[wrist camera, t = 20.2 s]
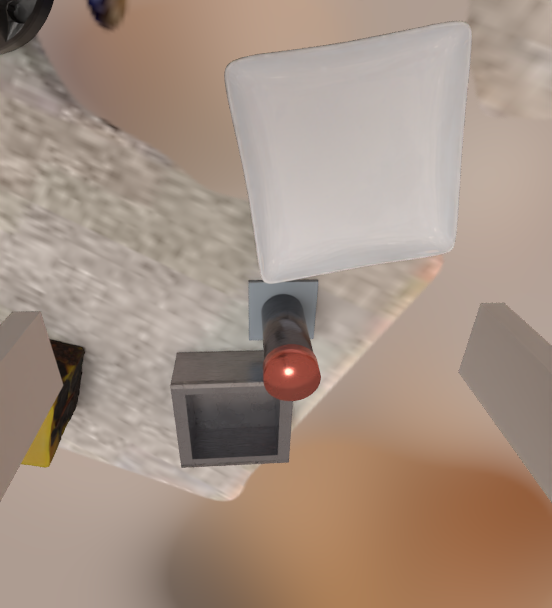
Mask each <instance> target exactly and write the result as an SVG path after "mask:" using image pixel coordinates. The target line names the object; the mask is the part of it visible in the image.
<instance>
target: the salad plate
mask: <svg viewBox="0 0 552 608" xmlns="http://www.w3.org/2000/svg"><path fill="white" fill-rule="evenodd" d="M471 47H472V32H471V27H470V26H469V24H468V23H466V22H463V21H452V22H444V23H438V24H432V25H428V26H423V27H418V28H414V29H409V30H404V31H399V32H394V33H389V34H385V35H379V36H374V37H368V38H363V39H358V40H353V41H348V42H342V43H336V44H329V45H323V46H316V47H309V48H302V49H295V50H287V51H279V52H271V53H263V54H256V55H252V56H247V57H242V58H239V59H236V60H234V61H232V62H231V63H229V64H228V65H227V67H226V69H225V75H224V76H225V86H226V92H227V98H228V102H229V108H230V112H231V116H232V121H233V126H234V130H235V135H236V139H237V143H238V148H239V153H240V157H241V162H242V166H243V171H244V177H245V182H246V187H247V193H248V199H249V204H250V211H251V218H252V224H253V231H254V238H255V245H256V252H257V259H258V265H259V270H260V274H261V277H262V280H263V281H264V282H265V283H268V284H274V283H280V282H286V281H292V280H297V279H302V278H307V277H312V276H317V275H322V274H328V273H333V272H338V271H343V270H349V269H355V268H360V267H366V266H371V265H377V264H383V263H390V262H397V261H405V260H411V259H418V258H425V257H430V256H435V255H440V254H444V253H448V252H449V251H451V250H452V249H453V247H454V244H455V239H456V233H457V222H458V209H459V193H460V176H461V175H460V174H461V159H462V145H463V132H464V122H465V111H466V101H467V90H468V81H469V71H470V61H471Z"/></svg>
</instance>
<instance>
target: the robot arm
mask: <svg viewBox="0 0 552 608" xmlns="http://www.w3.org/2000/svg"><path fill="white" fill-rule="evenodd" d="M53 1H54V0H0V54H4V53H7V52H10V51H13V50H15V49H17V48H19V47H21V46H23V45H24V44H26V43H27V42H28V41H29V40H31V39H32V38H33V37H34V36H35V35H36V34H37V33H38V31H39V30H40V29H41V27H42V26H43V24H44V23H45V21H46V19H47V17H48V15H49V13H50V10H51V8H52V5H53ZM459 374H460V375H461V376H462V378H463V379H464V381H465V382H466V383H467V385H468V386H469V388H470V389H471V390H472V392H473V393H474V395H475V396H476V397H477V399H478V400H479V402H480V403H481V404H482V406H483V407H484V409H485V410H486V411H487V413H488V414H489V415H490V417H491V418H492V420H493V421H494V422H495V424H496V425H497V427H498V428H499V430H500V431H501V432H502V434H503V435H504V437H505V438H506V439H507V441H508V442H509V444H510V445H511V446H512V448H513V449H514V451H515V452H516V453H517V455H518V456H519V458H520V459H521V460H522V462H523V463H524V465H525V466H526V467H527V469H528V470H529V472H530V473H531V474H532V476H533V477H534V479H535V480H536V481H537V483H538V484H539V485H540V487H541V488H542V490H543V491H544V492H545V494H546V495H547V497H548V498H549V499H550V501H551V502H552V345H550V344H549V343H548V342H547V341H546V340H545V339H544V338H543V337H542V336H540V335H539V334H538V333H537V332H536V331H535V330H534V329H532V327H530V326H529V325H528V324H527V323H526V322H525V321H524V320H522V319H521V318H520V317H519V316H518V315H517V314H516V313H515V312H514V311H513V310H511V309H510V308H509V307H508V306H507V305H506V304H505V303H481V304H480V307H479V310H478V313H477V316H476V319H475V322H474V325H473V328H472V332H471V335H470V338H469V341H468V344H467V347H466V350H465V354H464V356H463V360H462V363H461V366H460V369H459ZM62 387H63V382H62V379H61V376H60V373H59V369H58V366H57V363H56V360H55V356H54V353H53V350H52V347H51V343H50V340H49V337H48V334H47V330H46V327H45V324H44V321H43V317H42V314H41V311H31V312H12V313H11V314H10V315H9V316H8V317H7V318H6V319H5V321H4V322H3V323H2V324H1V325H0V501H1V499H2V498H3V496H4V494H5V492H6V490H7V488H8V487H9V485H10V482H11V481H12V479H13V477H14V475H15V474H16V472H17V470H18V468H19V466H20V464H21V463H22V461H23V459H24V457H25V455H26V453H27V451H28V450H29V448H30V446H31V444H32V442H33V440H34V439H35V437H36V435H37V433H38V431H39V429H40V427H41V426H42V424H43V422H44V420H45V418H46V416H47V414H48V413H49V411H50V409H51V407H52V405H53V403H54V402H55V400H56V398H57V396H58V394H59V392H60V390H61V389H62Z"/></svg>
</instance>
